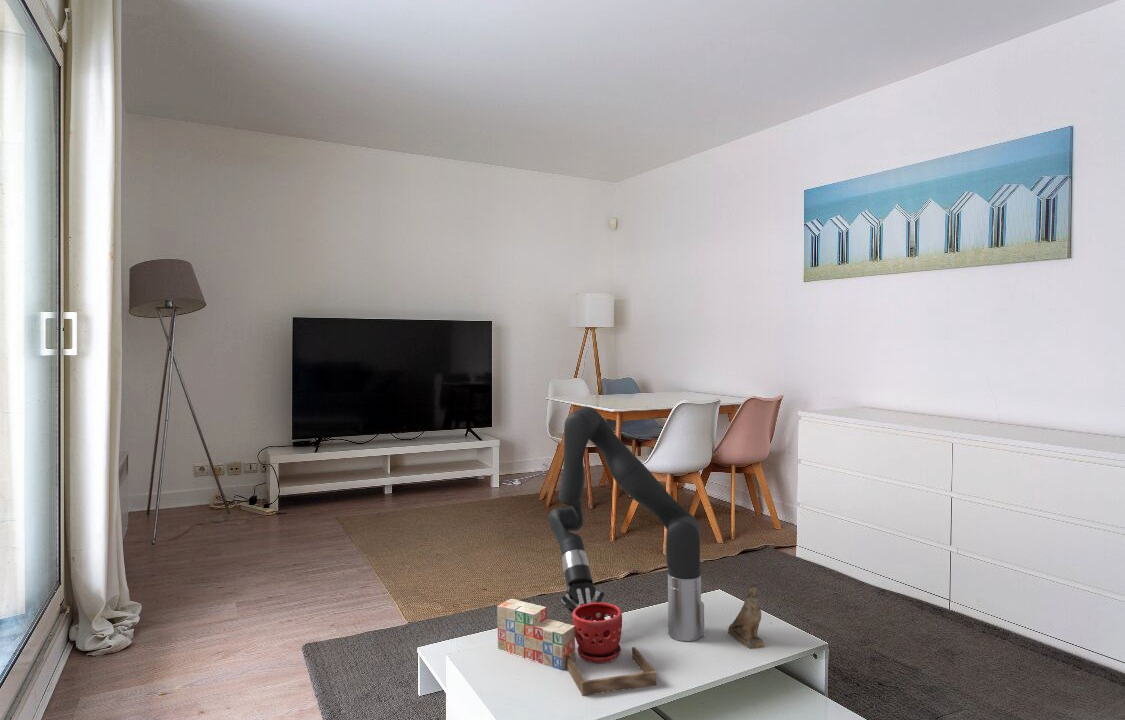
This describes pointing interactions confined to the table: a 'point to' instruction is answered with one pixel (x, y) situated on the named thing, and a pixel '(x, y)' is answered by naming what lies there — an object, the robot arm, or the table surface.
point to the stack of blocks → (534, 633)
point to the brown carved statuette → (748, 621)
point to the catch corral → (614, 682)
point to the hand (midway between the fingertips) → (589, 628)
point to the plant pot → (598, 632)
